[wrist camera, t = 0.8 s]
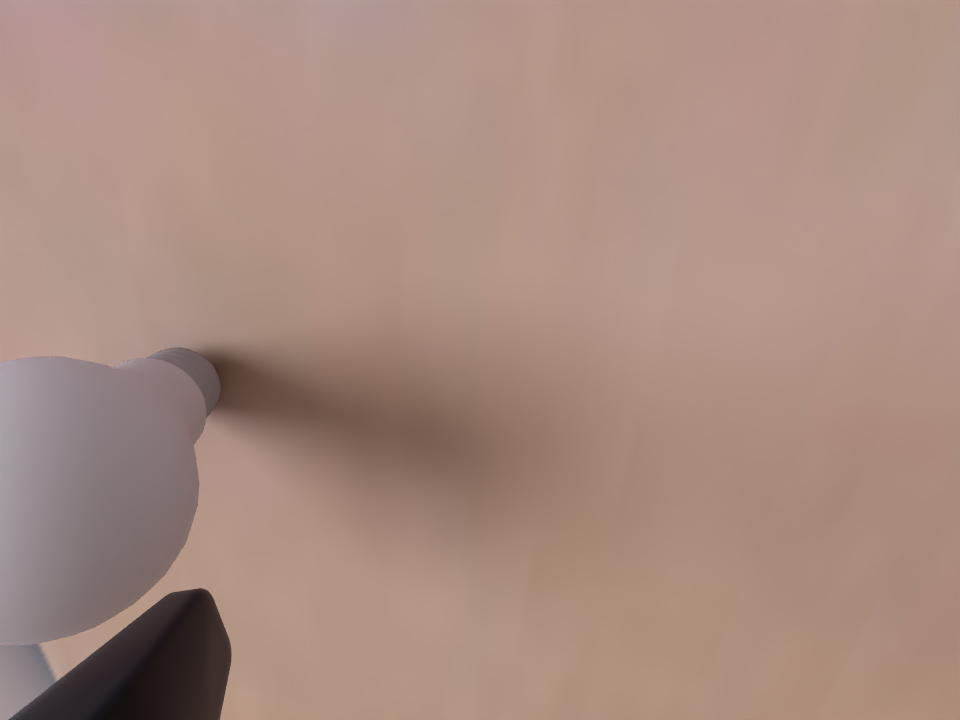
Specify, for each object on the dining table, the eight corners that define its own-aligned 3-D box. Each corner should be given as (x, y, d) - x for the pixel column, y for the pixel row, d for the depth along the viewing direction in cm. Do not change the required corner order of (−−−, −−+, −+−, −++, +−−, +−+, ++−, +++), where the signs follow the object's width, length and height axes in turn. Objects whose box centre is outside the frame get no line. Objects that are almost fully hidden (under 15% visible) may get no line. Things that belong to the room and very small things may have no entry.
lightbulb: (297, 449, 23) (157, 702, 12) (125, 465, 23) (-161, 732, 12) (264, 278, 21) (65, 405, 10) (76, 296, 21) (-311, 441, 10)
